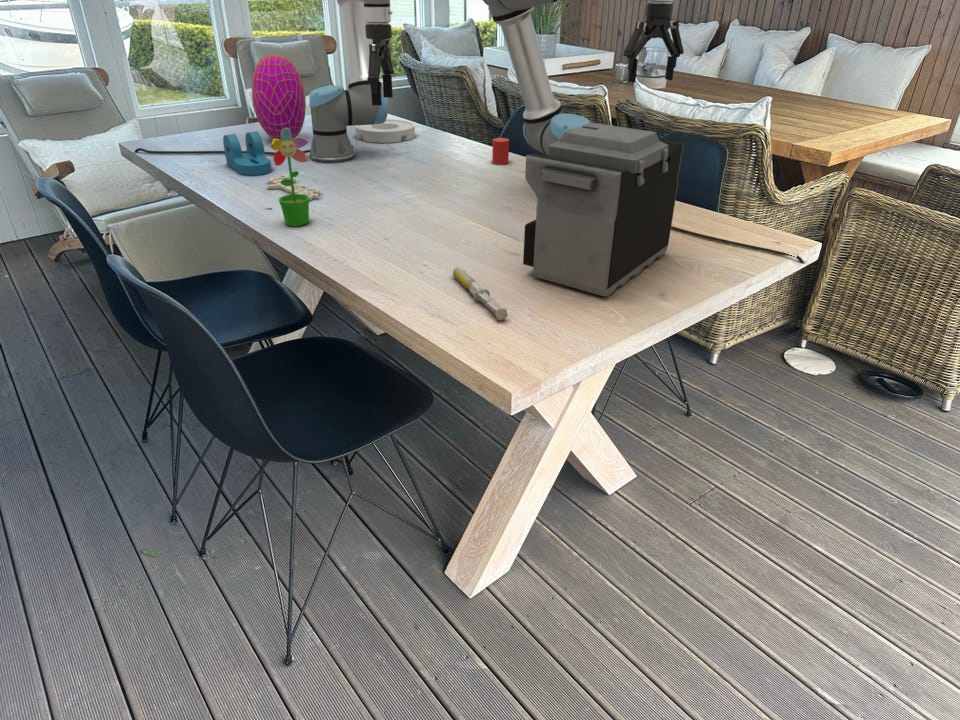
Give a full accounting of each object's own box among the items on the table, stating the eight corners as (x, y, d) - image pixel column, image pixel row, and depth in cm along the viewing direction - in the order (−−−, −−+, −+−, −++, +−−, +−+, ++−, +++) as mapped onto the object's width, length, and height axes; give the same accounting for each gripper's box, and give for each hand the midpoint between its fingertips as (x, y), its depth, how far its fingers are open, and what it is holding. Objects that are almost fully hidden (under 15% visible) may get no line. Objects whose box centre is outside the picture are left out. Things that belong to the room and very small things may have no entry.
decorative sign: (256, 179, 214) (285, 174, 220) (256, 182, 215) (285, 177, 220) (297, 199, 197) (327, 193, 203) (297, 203, 198) (328, 196, 203)
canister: (508, 160, 242) (509, 138, 238) (508, 165, 237) (508, 141, 233) (492, 160, 242) (493, 137, 238) (491, 164, 237) (492, 141, 233)
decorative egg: (293, 132, 276) (283, 50, 261) (319, 140, 264) (310, 56, 249) (249, 139, 265) (236, 54, 250) (273, 148, 253) (261, 60, 238)
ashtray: (362, 128, 283) (361, 118, 281) (418, 129, 282) (417, 119, 280) (351, 142, 263) (350, 131, 261) (411, 143, 262) (411, 132, 260)
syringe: (449, 274, 155) (449, 263, 153) (465, 272, 156) (464, 260, 154) (490, 323, 135) (491, 310, 133) (508, 319, 136) (508, 307, 134)
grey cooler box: (592, 232, 179) (603, 112, 164) (672, 251, 168) (693, 125, 153) (515, 277, 153) (520, 140, 138) (603, 303, 142) (620, 157, 127)
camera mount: (227, 164, 233) (221, 132, 227) (257, 160, 238) (252, 129, 233) (244, 176, 220) (239, 143, 215) (276, 172, 225) (271, 139, 220)
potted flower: (284, 229, 179) (270, 130, 166) (277, 220, 185) (263, 124, 172) (319, 224, 183) (308, 127, 170) (311, 215, 188) (300, 121, 176)
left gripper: (379, 27, 186) (384, 109, 197) (400, 20, 208) (404, 94, 218) (353, 26, 187) (359, 108, 198) (376, 20, 208) (381, 94, 219)
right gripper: (686, 1, 206) (675, 76, 217) (616, 2, 197) (608, 81, 208) (703, 2, 200) (691, 80, 211) (631, 3, 192) (622, 84, 202)
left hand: (382, 101), depth 208 cm, fingers open, 13 cm apart
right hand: (650, 80), depth 210 cm, fingers open, 13 cm apart
